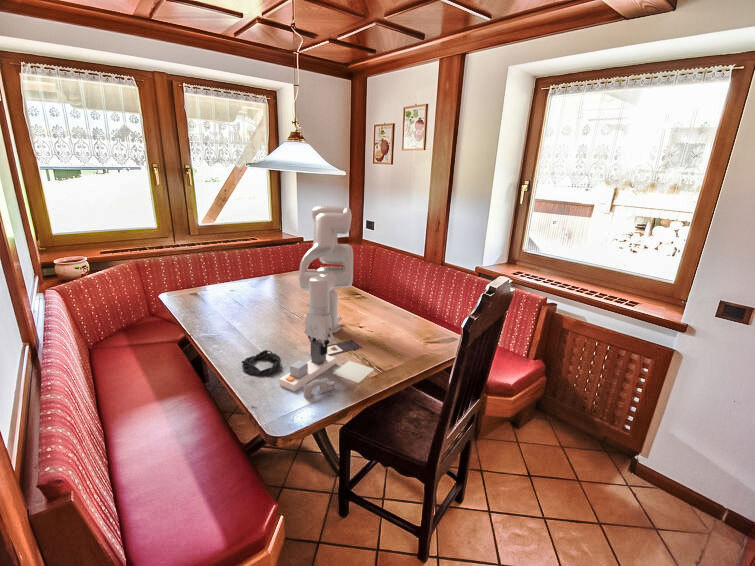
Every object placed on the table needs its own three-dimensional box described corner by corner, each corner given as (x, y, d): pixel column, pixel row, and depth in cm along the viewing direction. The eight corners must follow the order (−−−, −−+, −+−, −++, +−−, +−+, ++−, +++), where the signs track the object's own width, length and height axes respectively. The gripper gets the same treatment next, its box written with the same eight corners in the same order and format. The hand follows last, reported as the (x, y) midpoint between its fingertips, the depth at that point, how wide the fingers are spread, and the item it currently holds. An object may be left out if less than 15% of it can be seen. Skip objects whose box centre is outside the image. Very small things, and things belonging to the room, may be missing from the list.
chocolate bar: (362, 347, 165) (325, 356, 155) (362, 349, 166) (325, 358, 156) (351, 339, 172) (316, 348, 163) (351, 341, 173) (316, 350, 163)
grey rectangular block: (318, 356, 150) (318, 338, 147) (326, 359, 148) (326, 341, 146) (310, 362, 146) (310, 343, 143) (318, 364, 144) (318, 346, 141)
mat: (349, 361, 154) (349, 360, 153) (374, 369, 148) (374, 369, 148) (332, 374, 143) (332, 373, 143) (358, 383, 138) (358, 382, 138)
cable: (285, 374, 142) (284, 364, 141) (247, 383, 136) (246, 372, 135) (274, 355, 157) (274, 345, 156) (239, 361, 150) (238, 352, 149)
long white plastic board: (322, 360, 154) (322, 351, 153) (335, 365, 151) (335, 356, 150) (279, 387, 134) (279, 377, 133) (294, 393, 131) (293, 383, 130)
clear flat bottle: (333, 387, 135) (333, 373, 133) (335, 390, 134) (335, 375, 132) (302, 397, 128) (302, 382, 126) (304, 400, 127) (304, 385, 125)
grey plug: (299, 375, 141) (299, 360, 139) (307, 378, 139) (307, 363, 137) (290, 381, 137) (289, 365, 135) (298, 384, 135) (298, 368, 133)
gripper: (295, 307, 141) (296, 350, 147) (331, 317, 133) (330, 362, 139) (308, 301, 147) (308, 343, 153) (343, 310, 140) (342, 354, 145)
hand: (319, 352), depth 146 cm, fingers closed on grey rectangular block, 4 cm apart
